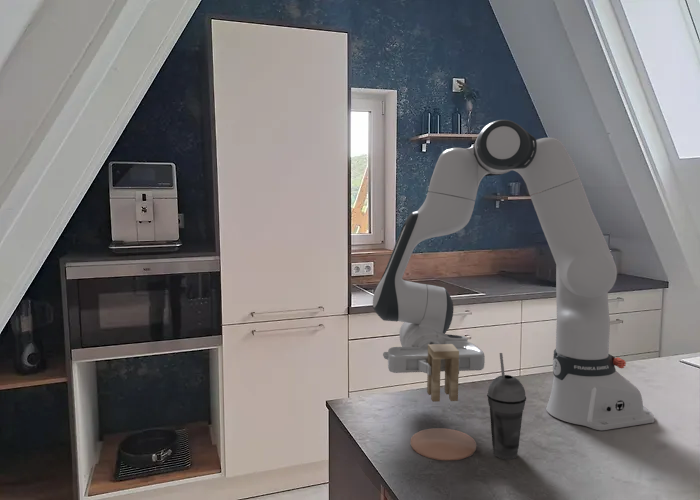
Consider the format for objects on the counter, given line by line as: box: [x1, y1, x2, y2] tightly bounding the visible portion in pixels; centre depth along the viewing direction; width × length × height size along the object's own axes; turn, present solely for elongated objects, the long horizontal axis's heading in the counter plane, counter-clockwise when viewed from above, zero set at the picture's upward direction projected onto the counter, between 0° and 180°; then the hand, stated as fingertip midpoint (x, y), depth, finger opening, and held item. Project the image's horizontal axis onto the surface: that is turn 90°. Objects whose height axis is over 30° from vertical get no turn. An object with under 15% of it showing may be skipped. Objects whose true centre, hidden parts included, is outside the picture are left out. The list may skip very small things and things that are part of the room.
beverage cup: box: [486, 352, 527, 460], centre depth 105 cm, size 7×7×20 cm
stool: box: [426, 344, 460, 403], centre depth 108 cm, size 5×5×10 cm
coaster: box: [410, 427, 477, 462], centre depth 110 cm, size 13×13×1 cm
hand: (444, 371), depth 107 cm, fingers closed on stool, 3 cm apart
